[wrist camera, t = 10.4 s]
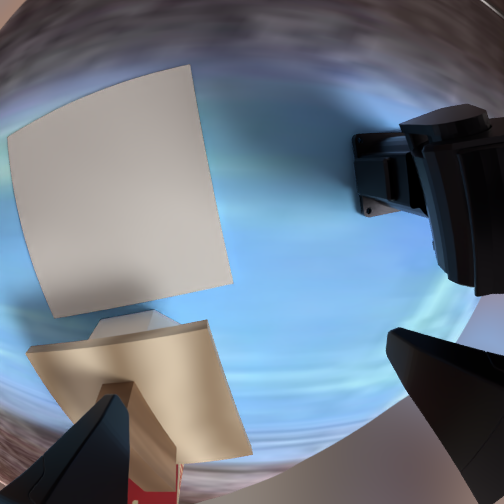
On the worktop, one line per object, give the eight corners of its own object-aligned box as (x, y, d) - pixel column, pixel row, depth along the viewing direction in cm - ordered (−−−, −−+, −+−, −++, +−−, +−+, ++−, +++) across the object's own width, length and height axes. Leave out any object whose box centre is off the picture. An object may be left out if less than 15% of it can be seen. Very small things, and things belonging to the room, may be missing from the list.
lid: (207, 319, 16) (208, 383, 10) (251, 446, 20) (261, 495, 15) (31, 346, 14) (-3, 391, 9) (112, 456, 19) (104, 499, 13)
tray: (190, 66, 16) (190, 64, 15) (232, 280, 21) (233, 283, 20) (10, 137, 14) (7, 137, 14) (56, 315, 19) (54, 318, 19)
